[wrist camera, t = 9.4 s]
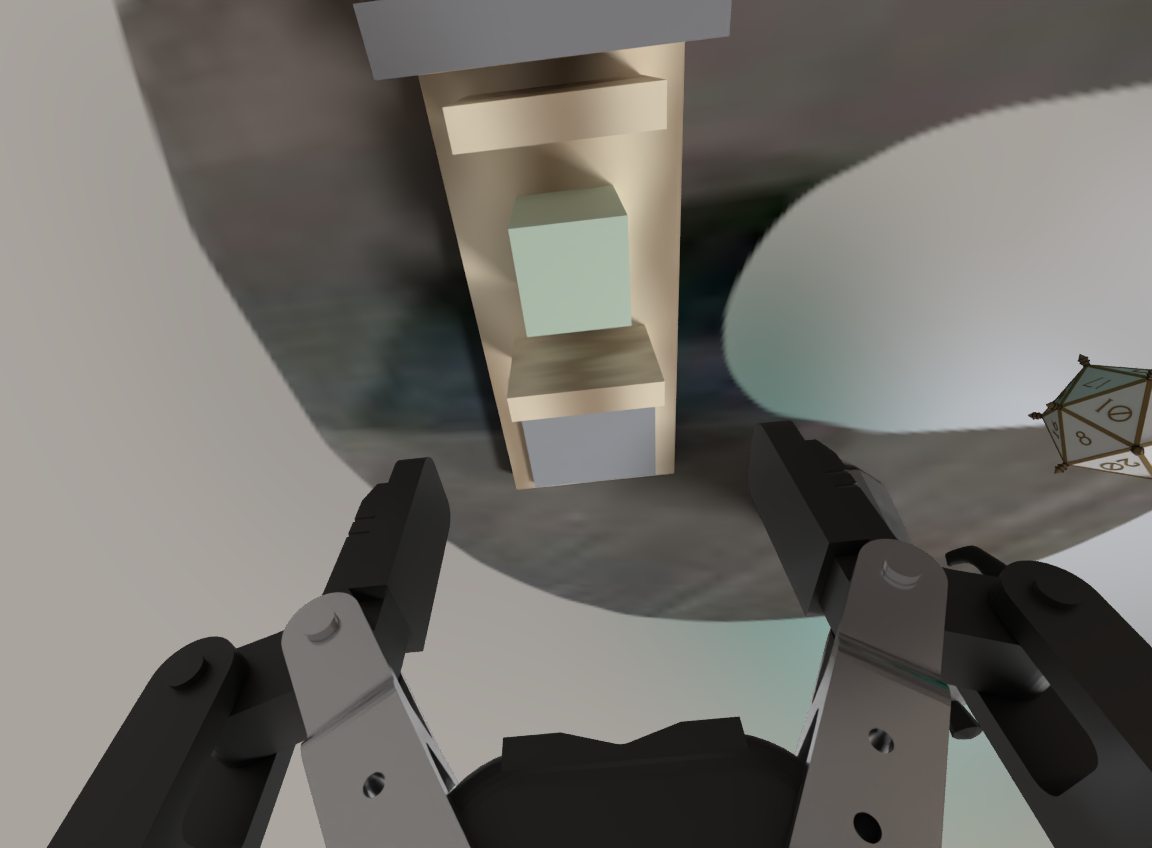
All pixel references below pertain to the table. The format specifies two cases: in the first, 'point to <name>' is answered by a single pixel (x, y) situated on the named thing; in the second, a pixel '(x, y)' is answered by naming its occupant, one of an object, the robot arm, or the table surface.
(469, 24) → the slide cover
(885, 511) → the coffeepot
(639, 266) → the puzzle board
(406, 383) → the table surface
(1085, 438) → the game die
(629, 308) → the sage block
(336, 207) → the table surface
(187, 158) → the table surface
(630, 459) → the slate pad
